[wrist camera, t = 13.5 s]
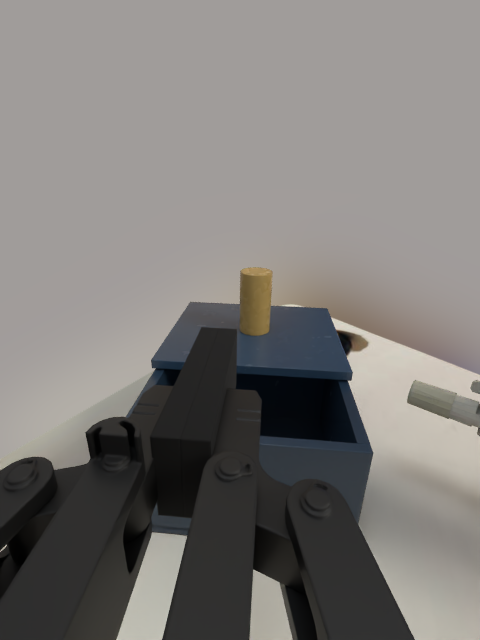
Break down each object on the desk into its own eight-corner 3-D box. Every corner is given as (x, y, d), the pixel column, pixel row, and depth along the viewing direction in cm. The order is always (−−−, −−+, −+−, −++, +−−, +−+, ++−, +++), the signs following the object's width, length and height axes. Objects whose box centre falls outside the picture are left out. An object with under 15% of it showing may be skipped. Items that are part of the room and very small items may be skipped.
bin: (130, 529, 25) (115, 432, 22) (179, 410, 38) (174, 337, 35) (352, 552, 24) (373, 453, 21) (325, 421, 37) (335, 346, 33)
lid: (151, 368, 29) (144, 290, 26) (190, 307, 42) (188, 252, 39) (351, 380, 28) (364, 300, 25) (326, 314, 41) (333, 257, 38)
